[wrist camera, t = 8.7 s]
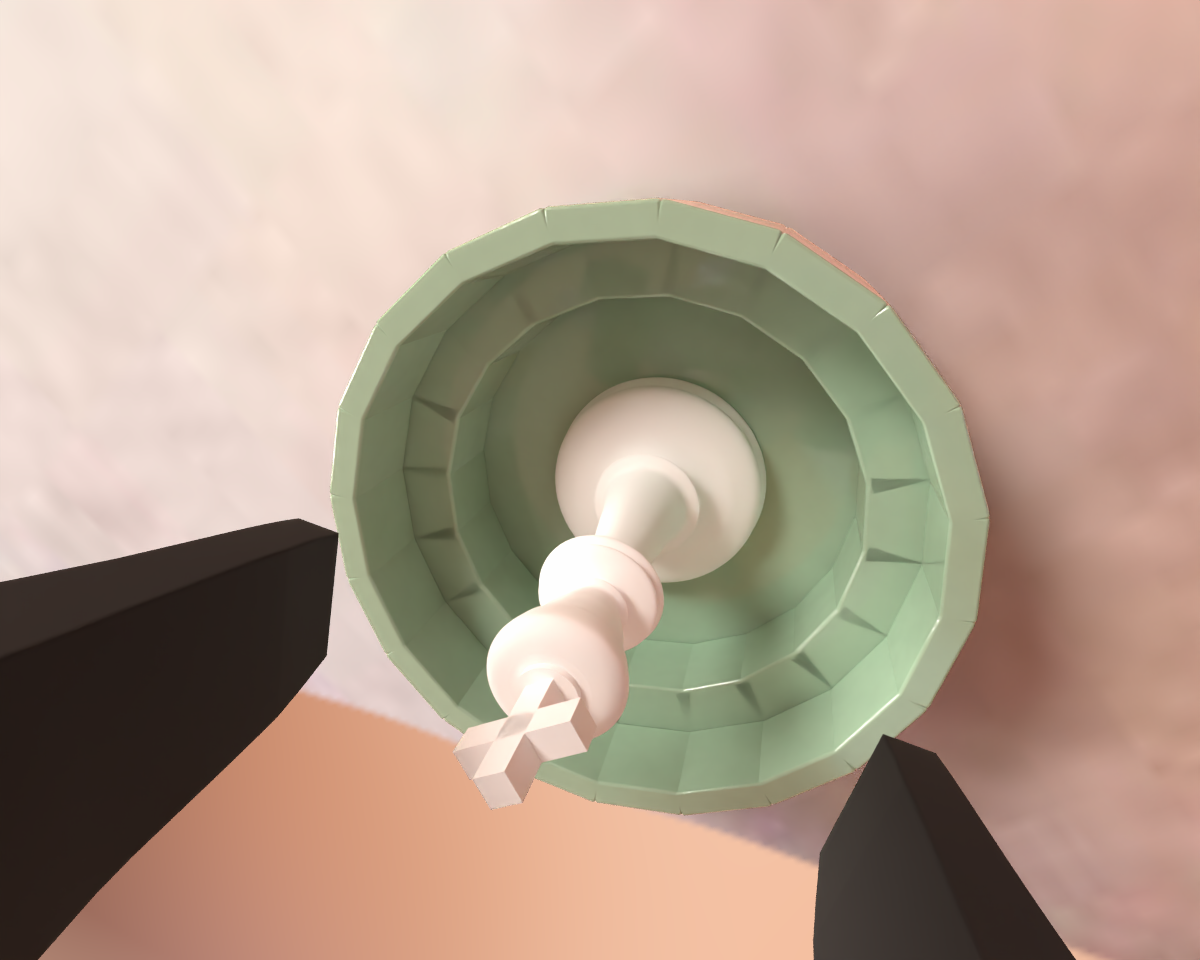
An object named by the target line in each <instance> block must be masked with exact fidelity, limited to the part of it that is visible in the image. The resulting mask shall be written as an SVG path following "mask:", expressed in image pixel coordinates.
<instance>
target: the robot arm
mask: <svg viewBox="0 0 1200 960" xmlns="http://www.w3.org/2000/svg"><path fill="white" fill-rule="evenodd" d="M338 536H339V533H337V532H334V531H331V530H329V529H326V528H323V527H320V526H318V525H315V524H312V523H310V522H307V521H304V520H301V519H299V518H298V519H292V520H285V521H279V522H274V523H269V524H264V525H259V526H254V527H250V528H245V529H241V530H237V531H232V532H228V533H224V534H219V535H215V536H211V537H207V538H202V539H198V540H194V541H190V542H186V543H181V544H177V545H173V546H168V547H164V548H160V549H156V550H151V551H147V552H143V553H139V554H134V555H130V556H126V557H121V558H117V559H112V560H107V561H102V562H98V563H93V564H88V565H83V566H78V567H73V568H68V569H63V570H58V571H53V572H49V573H44V574H39V575H34V576H29V577H24V578H19V579H14V580H9V581H4V582H0V960H38V959H39V958H40V957H41V955H42V954H43V953H44V952H45V951H46V950H47V949H48V948H49V946H50V945H51V944H52V943H53V942H54V941H55V940H56V939H57V937H58V936H59V935H60V934H61V933H62V932H63V931H64V930H65V928H66V927H67V926H68V925H69V924H70V923H71V922H72V920H73V919H74V918H75V917H76V916H77V914H79V913H80V911H81V910H82V909H83V908H84V907H85V906H86V905H87V903H88V902H89V901H90V900H91V899H92V898H93V897H94V896H95V894H96V893H97V892H98V891H99V890H100V889H101V888H102V887H103V886H104V885H105V884H106V883H107V882H108V881H109V880H110V879H111V878H112V877H113V876H114V875H115V874H116V873H117V872H118V871H119V870H120V869H121V868H122V866H123V865H125V864H126V862H128V860H129V859H130V858H131V857H132V856H133V855H134V854H136V853H137V851H138V850H140V849H141V848H142V847H143V846H144V845H145V844H146V843H147V842H148V841H149V840H150V839H151V838H152V837H153V836H154V835H155V834H157V833H158V832H159V830H161V829H162V828H163V827H164V826H165V825H166V824H167V823H168V822H169V821H170V820H171V819H172V818H173V817H174V816H175V815H176V814H177V813H178V812H180V811H181V810H182V809H183V808H184V807H185V806H186V805H187V804H188V803H189V802H190V801H191V800H192V799H193V798H194V797H195V796H196V795H197V794H198V793H199V792H200V791H201V790H203V789H204V788H205V787H206V786H207V785H208V784H209V783H210V782H211V781H212V780H213V779H214V778H215V777H216V776H217V775H218V774H219V773H220V772H221V771H222V770H224V768H226V767H227V765H229V764H230V763H231V762H232V761H233V760H234V759H235V758H236V757H237V756H238V755H239V754H240V753H241V752H242V751H243V750H244V749H245V748H246V747H247V746H248V745H249V744H250V743H251V742H252V741H253V740H254V739H255V738H256V737H257V736H259V735H260V734H261V733H262V732H263V731H264V730H265V729H266V728H267V727H268V726H269V725H270V724H271V723H272V722H273V721H274V720H275V718H277V717H278V715H279V714H280V713H281V712H282V711H283V710H284V708H285V707H286V706H287V705H288V703H289V702H290V701H291V700H292V699H293V698H294V696H295V695H296V694H297V693H298V692H299V690H300V689H301V688H302V687H303V685H304V684H305V683H306V682H307V680H308V679H309V678H310V676H311V675H312V674H313V673H314V671H315V670H316V669H317V667H318V666H319V665H320V664H321V662H322V661H323V660H324V658H325V657H326V656H327V646H328V636H329V626H330V616H331V606H332V596H333V586H334V576H335V566H336V556H337V546H338ZM816 894H817V895H816V907H815V923H814V938H813V945H814V946H813V948H814V960H1076V959H1075V958H1074V956H1073V955H1072V954H1071V952H1070V951H1069V949H1068V948H1067V946H1066V945H1065V944H1064V942H1063V941H1062V939H1061V938H1060V936H1059V935H1058V934H1057V932H1056V931H1055V929H1054V928H1053V926H1052V925H1051V923H1050V922H1049V921H1048V919H1047V918H1046V916H1045V915H1044V913H1043V912H1042V910H1041V909H1040V907H1039V906H1038V904H1037V903H1036V902H1035V900H1034V899H1033V897H1032V896H1031V894H1030V893H1029V891H1028V890H1027V888H1026V887H1025V885H1024V884H1023V882H1022V881H1021V879H1020V878H1019V876H1018V875H1017V873H1016V872H1015V870H1014V869H1013V867H1012V866H1011V864H1010V863H1009V861H1008V860H1007V858H1006V857H1005V855H1004V854H1003V852H1002V851H1001V849H1000V848H999V846H998V845H997V843H996V842H995V840H994V839H993V837H992V836H991V834H990V833H989V831H988V830H987V828H986V827H985V825H984V824H983V822H982V821H981V819H980V818H979V816H978V814H977V813H976V811H975V810H974V808H973V807H972V805H971V804H970V802H969V801H968V799H967V798H966V796H965V795H964V793H963V792H962V790H961V789H960V787H959V786H958V784H957V783H956V781H955V780H954V778H953V777H952V775H951V774H950V773H949V771H948V770H947V768H946V767H945V765H944V764H943V763H942V761H941V760H940V759H939V757H938V756H937V754H936V753H933V752H931V751H928V750H925V749H922V748H920V747H917V746H914V745H912V744H909V743H906V742H903V741H901V740H898V739H895V738H893V737H890V736H887V735H885V734H883V735H882V737H881V738H880V740H879V742H878V744H877V746H876V748H875V750H874V752H873V754H872V755H871V757H870V759H869V761H868V763H867V765H866V767H865V769H864V771H863V773H862V774H861V776H860V778H859V780H858V782H857V784H856V786H855V788H854V790H853V791H852V793H851V795H850V797H849V799H848V801H847V803H846V805H845V807H844V808H843V810H842V812H841V814H840V816H839V818H838V820H837V822H836V824H835V825H834V827H833V829H832V831H831V833H830V835H829V837H828V839H827V841H826V843H825V844H824V846H823V848H822V850H821V852H820V859H819V870H818V883H817V893H816Z"/></svg>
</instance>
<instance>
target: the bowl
mask: <svg viewBox="0 0 1200 960" xmlns="http://www.w3.org/2000/svg"><path fill="white" fill-rule="evenodd" d="M649 377H663V378H673V379H678V380H683V381H686V382H690V383H693V384H696V385H698V386H700V387H703V388H705V389H707V390H709V391H711V392H712V393H714V394H716V395H717V396H719V397H720V398H722V399H723V400H724V401H726V402H727V403H728V404H729V405H730V406H732V407H733V408H734V409H735V410H736V411H737V412H738V413H739V414H740V416H741V417H742V418H743V419H744V420H745V422H746V423H747V424H748V426H749V427H750V429H751V430H752V432H753V434H754V436H755V438H756V440H757V442H758V444H759V447H760V449H761V452H762V455H763V459H764V464H765V470H766V494H765V500H764V505H763V508H762V512H761V514H760V517H759V519H758V521H757V523H756V525H755V527H754V529H753V531H752V532H751V534H750V536H749V538H748V539H747V541H746V542H745V544H744V545H743V546H742V548H741V549H740V550H739V551H738V552H737V553H736V554H735V555H734V556H733V557H732V558H731V559H730V560H729V561H727V562H726V563H725V564H723V565H722V566H720V567H719V568H717V569H716V570H714V571H712V572H710V573H708V574H705V575H703V576H700V577H697V578H694V579H690V580H686V581H680V582H668V583H662V582H661V584H662V588H663V594H664V607H663V612H662V616H661V619H660V621H659V623H658V625H657V626H656V628H655V629H654V631H653V632H652V633H651V634H650V635H649V636H648V637H647V638H646V639H644V640H643V641H642V642H641V643H639V644H638V645H636V646H635V647H633V648H631V649H629V650H626V651H625V654H626V658H627V663H628V672H629V694H628V699H627V703H626V706H625V709H624V711H623V713H622V715H621V717H620V718H619V719H618V721H617V722H616V723H615V724H614V725H613V726H612V727H611V728H610V729H609V730H608V731H606V732H605V733H603V734H601V735H600V736H598V737H595V738H593V739H592V741H591V743H590V746H589V748H588V751H587V752H583V753H579V754H575V755H571V756H567V757H563V758H558V759H554V760H550V761H546V762H542V763H541V765H540V767H539V769H538V771H537V774H536V776H535V779H538V780H540V781H543V782H545V783H548V784H550V785H553V786H555V787H558V788H560V789H563V790H565V791H568V792H570V793H573V794H575V795H577V796H580V797H582V798H585V799H588V800H590V801H592V802H594V801H596V802H598V803H604V804H611V805H618V806H624V807H631V808H637V809H644V810H651V811H657V812H664V813H671V814H678V815H680V814H683V815H692V814H702V813H711V812H721V811H730V810H739V809H749V808H758V807H767V806H771V804H777V803H779V802H782V801H784V800H787V799H789V798H792V797H794V796H796V795H799V794H801V793H804V792H806V791H809V790H811V789H813V788H816V787H818V786H821V785H823V784H826V783H828V782H831V781H833V780H835V779H838V778H840V777H843V776H845V775H848V774H850V773H853V772H854V771H855V769H859V768H860V767H862V766H863V765H864V764H865V763H866V762H867V761H869V759H870V757H871V755H872V754H873V752H874V750H875V748H876V746H877V744H878V742H879V740H880V738H881V737H882V735H883V734H885V735H887V736H890V737H893V738H896V737H897V736H898V735H899V734H900V733H901V732H903V731H904V730H905V729H906V728H907V727H908V726H910V725H911V724H912V723H913V722H914V721H915V720H917V719H918V718H919V717H920V716H921V715H922V714H924V713H925V712H926V710H927V708H929V707H930V705H931V704H932V702H933V700H934V698H935V696H936V695H937V693H938V691H939V689H940V687H941V686H942V684H943V682H944V680H945V678H946V676H947V675H948V673H949V671H950V669H951V667H952V666H953V664H954V662H955V660H956V658H957V657H958V655H959V653H960V651H961V649H962V648H963V646H964V644H965V642H966V640H967V639H968V637H969V635H970V633H971V631H972V630H973V628H974V626H975V622H976V621H977V618H978V610H979V602H980V594H981V586H982V579H983V571H984V563H985V555H986V547H987V540H988V532H989V524H990V519H989V515H990V513H989V509H988V505H987V501H986V497H985V494H984V490H983V486H982V482H981V478H980V474H979V470H978V467H977V463H976V459H975V455H974V451H973V447H972V443H971V439H970V436H969V432H968V428H967V424H966V420H965V416H964V412H963V409H962V407H961V406H960V402H959V401H958V399H957V398H956V396H955V395H954V394H953V392H952V391H951V389H950V388H949V387H948V385H947V384H946V382H945V381H944V380H943V378H942V377H941V375H940V374H939V373H938V371H937V370H936V368H935V367H934V366H933V364H932V363H931V361H930V360H929V359H928V357H927V356H926V354H925V353H924V352H923V350H922V349H921V347H920V346H919V345H918V343H917V342H916V340H915V339H914V337H913V336H912V335H911V333H910V332H909V330H908V329H907V328H906V326H905V325H904V323H903V322H902V321H901V319H900V318H899V316H898V315H897V314H896V312H895V311H894V309H893V308H892V307H891V305H890V304H889V303H888V302H887V301H886V300H885V299H884V298H883V297H882V296H881V295H880V294H879V293H878V292H877V291H876V290H875V289H874V288H873V287H872V286H871V285H870V284H869V283H868V282H867V281H866V280H865V279H864V278H863V277H861V276H860V275H858V274H857V273H856V272H854V271H853V270H851V269H850V268H848V267H847V266H845V265H844V264H843V263H841V262H840V261H838V260H837V259H835V258H834V257H832V256H831V255H830V254H828V253H827V252H825V251H824V250H822V249H821V248H819V247H818V246H816V245H815V244H814V243H812V242H811V241H809V240H808V239H806V238H805V237H803V236H802V235H801V234H799V233H798V232H796V231H795V230H793V229H792V228H786V226H785V225H783V224H780V223H776V222H773V221H769V220H765V219H761V218H758V217H754V216H750V215H747V214H743V213H739V212H735V211H732V210H728V209H724V208H721V207H717V206H713V205H709V204H706V203H702V202H697V201H686V200H676V199H664V198H649V199H636V200H624V201H611V202H598V203H586V204H573V205H560V206H548V207H546V208H540V209H538V210H535V211H533V212H531V213H529V214H527V215H525V216H522V217H520V218H518V219H516V220H514V221H512V222H509V223H507V224H505V225H503V226H501V227H499V228H496V229H494V230H492V231H490V232H488V233H486V234H483V235H481V236H479V237H477V238H475V239H473V240H470V241H468V242H466V243H464V244H462V245H460V246H457V247H455V248H453V249H451V250H449V251H448V252H447V253H445V254H443V255H442V256H441V257H440V258H439V259H438V260H437V261H436V262H435V263H434V264H433V265H432V266H431V267H430V268H429V269H428V270H427V271H426V272H425V273H424V274H423V275H422V276H421V277H420V278H419V279H418V280H417V281H416V282H415V283H414V284H413V285H412V286H411V287H410V288H409V289H408V290H407V291H406V292H405V293H404V294H403V295H402V296H401V297H400V298H399V299H398V300H397V301H396V302H395V303H394V304H393V305H392V306H391V307H390V308H389V309H388V310H387V311H386V312H385V314H384V315H383V316H382V317H381V318H380V319H379V320H378V321H377V324H376V325H375V326H374V328H373V331H372V333H371V335H370V337H369V339H368V342H367V344H366V346H365V348H364V350H363V353H362V355H361V357H360V359H359V361H358V364H357V366H356V368H355V370H354V372H353V375H352V377H351V379H350V381H349V384H348V386H347V388H346V390H345V392H344V395H343V397H342V399H341V401H340V403H339V408H338V411H337V421H336V432H335V442H334V453H333V463H332V474H331V484H330V493H331V496H330V499H331V504H332V509H333V513H334V518H335V523H336V528H337V533H339V536H338V537H339V542H340V547H341V552H342V557H343V561H344V566H345V571H346V576H347V577H348V578H349V579H348V581H349V583H350V585H351V587H352V589H353V591H354V593H355V595H356V597H357V599H358V601H359V603H360V605H361V607H362V609H363V611H364V613H365V615H366V617H367V618H368V620H369V622H370V624H371V626H372V628H373V630H374V632H375V634H376V636H377V638H378V640H379V642H380V644H381V646H382V648H383V650H384V652H385V653H386V654H387V657H388V658H389V659H390V660H391V662H392V663H393V664H394V665H395V666H396V667H397V668H398V669H399V671H400V672H401V673H402V674H403V675H404V676H405V677H406V679H407V680H408V681H409V682H410V683H411V684H412V685H413V686H414V688H415V689H416V690H417V691H418V692H419V693H420V694H421V696H422V697H423V698H424V699H425V700H426V701H427V702H428V704H429V705H430V706H431V707H432V708H433V709H434V710H435V711H436V713H437V714H438V715H439V716H440V717H441V718H442V719H443V718H445V719H444V720H445V721H446V722H448V723H449V724H450V725H452V726H453V727H455V728H456V729H457V730H459V731H460V732H462V733H463V734H464V733H465V732H466V730H467V729H468V728H470V727H474V726H478V725H481V724H485V723H489V722H492V721H496V720H499V719H503V718H507V717H508V715H507V714H506V713H505V712H504V711H503V709H502V708H501V707H500V705H499V704H498V702H497V701H496V699H495V697H494V695H493V693H492V691H491V688H490V685H489V682H488V677H487V656H488V652H489V649H490V646H491V644H492V642H493V640H494V638H495V637H496V635H497V634H498V633H499V632H500V630H501V629H502V628H503V627H504V626H505V625H507V624H508V623H509V622H510V621H512V620H513V619H515V618H516V617H518V616H520V615H521V614H523V613H525V612H527V611H529V610H531V609H533V608H536V607H539V606H541V605H540V601H539V579H540V573H541V570H542V567H543V564H544V562H545V560H546V559H547V557H548V556H549V555H550V553H551V552H552V551H553V550H554V549H555V548H556V547H558V546H559V545H560V544H562V543H564V542H565V541H567V540H570V539H572V538H575V536H574V535H573V533H572V532H571V530H570V529H569V527H568V525H567V523H566V521H565V519H564V517H563V515H562V512H561V509H560V506H559V503H558V499H557V493H556V485H555V470H556V462H557V457H558V453H559V450H560V447H561V444H562V442H563V440H564V438H565V436H566V434H567V431H568V429H569V427H570V426H571V424H572V422H573V421H574V419H575V418H576V416H577V415H578V414H579V412H580V411H581V410H582V409H583V408H584V407H585V406H586V405H587V404H588V403H589V402H590V401H591V400H592V399H594V398H595V397H596V396H598V395H599V394H600V393H602V392H604V391H605V390H607V389H609V388H611V387H613V386H615V385H618V384H620V383H623V382H627V381H630V380H634V379H640V378H649Z"/></svg>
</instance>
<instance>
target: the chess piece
mask: <svg viewBox="0 0 1200 960" xmlns="http://www.w3.org/2000/svg"><path fill="white" fill-rule="evenodd" d="M555 485H556V493H557V499H558V503H559V506H560V509H561V512H562V515H563V517H564V519H565V521H566V523H567V525H568V527H569V529H570V530H571V532H572V533H573V535H574V536H575V538H572V539H570V540H567V541H565V542H564V543H562V544H560V545H559V546H558V547H556V548H555V549H554V550H553V551H552V552H551V553H550V555H549V556H548V557H547V559H546V560H545V562H544V564H543V567H542V570H541V573H540V579H539V601H540V605H541V606H539V607H536V608H533V609H531V610H529V611H527V612H525V613H523V614H521V615H520V616H518V617H516V618H515V619H513V620H512V621H510V622H509V623H508V624H507V625H505V626H504V627H503V628H502V629H501V630H500V632H499V633H498V634H497V635H496V637H495V638H494V640H493V642H492V644H491V646H490V649H489V652H488V656H487V677H488V682H489V685H490V688H491V691H492V693H493V695H494V697H495V699H496V701H497V702H498V704H499V705H500V707H501V708H502V709H503V711H504V712H505V713H506V714H507V715H508V717H507V718H503V719H499V720H496V721H492V722H489V723H485V724H481V725H478V726H474V727H470V728H468V729H467V730H466V732H465V733H464V735H463V737H462V738H461V740H460V741H459V743H458V744H457V746H456V747H455V749H454V751H453V753H454V755H455V756H456V758H457V759H458V761H459V763H460V764H461V766H462V768H463V769H464V771H465V772H466V774H467V776H468V777H469V779H470V780H471V779H473V781H474V783H475V784H476V786H477V788H478V789H479V791H480V793H481V794H482V796H483V798H484V799H485V801H486V803H487V804H488V806H489V808H490V809H491V810H492V809H497V808H501V807H506V806H510V805H515V804H520V803H523V801H524V799H525V797H526V795H527V793H528V791H529V788H530V786H531V784H532V782H533V780H534V778H535V776H536V774H537V771H538V769H539V767H540V765H541V763H542V762H546V761H550V760H554V759H558V758H563V757H567V756H571V755H575V754H579V753H583V752H587V751H588V748H589V746H590V743H591V741H592V739H593V738H595V737H598V736H600V735H601V734H603V733H605V732H606V731H608V730H609V729H610V728H611V727H612V726H613V725H614V724H615V723H616V722H617V721H618V719H619V718H620V717H621V715H622V713H623V711H624V709H625V706H626V703H627V699H628V694H629V672H628V663H627V658H626V654H625V651H626V650H629V649H631V648H633V647H635V646H636V645H638V644H639V643H641V642H642V641H643V640H644V639H646V638H647V637H648V636H649V635H650V634H651V633H652V632H653V631H654V629H655V628H656V626H657V625H658V623H659V621H660V619H661V616H662V612H663V607H664V594H663V588H662V584H661V582H662V583H668V582H680V581H686V580H690V579H694V578H697V577H700V576H703V575H705V574H708V573H710V572H712V571H714V570H716V569H717V568H719V567H720V566H722V565H723V564H725V563H726V562H727V561H729V560H730V559H731V558H732V557H733V556H734V555H735V554H736V553H737V552H738V551H739V550H740V549H741V548H742V546H743V545H744V544H745V542H746V541H747V539H748V538H749V536H750V534H751V532H752V531H753V529H754V527H755V525H756V523H757V521H758V519H759V517H760V514H761V512H762V508H763V505H764V500H765V494H766V470H765V464H764V459H763V455H762V452H761V449H760V447H759V444H758V442H757V440H756V438H755V436H754V434H753V432H752V430H751V429H750V427H749V426H748V424H747V423H746V422H745V420H744V419H743V418H742V417H741V416H740V414H739V413H738V412H737V411H736V410H735V409H734V408H733V407H732V406H730V405H729V404H728V403H727V402H726V401H724V400H723V399H722V398H720V397H719V396H717V395H716V394H714V393H712V392H711V391H709V390H707V389H705V388H703V387H700V386H698V385H696V384H693V383H690V382H686V381H683V380H678V379H673V378H663V377H649V378H640V379H634V380H630V381H627V382H623V383H620V384H618V385H615V386H613V387H611V388H609V389H607V390H605V391H604V392H602V393H600V394H599V395H598V396H596V397H595V398H594V399H592V400H591V401H590V402H589V403H588V404H587V405H586V406H585V407H584V408H583V409H582V410H581V411H580V412H579V414H578V415H577V416H576V418H575V419H574V421H573V422H572V424H571V426H570V427H569V429H568V431H567V434H566V436H565V438H564V440H563V442H562V444H561V447H560V450H559V453H558V457H557V462H556V470H555Z"/></svg>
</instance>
